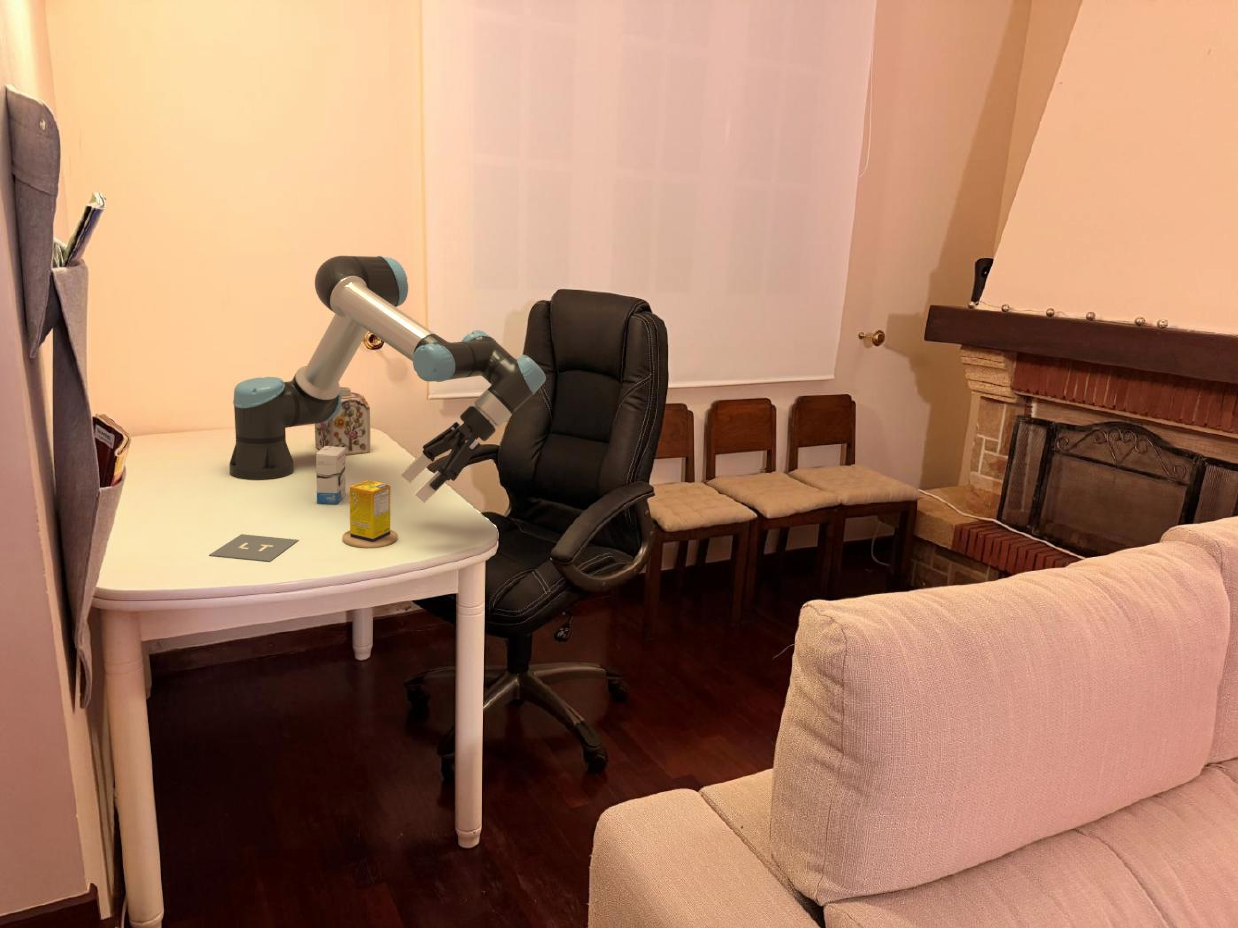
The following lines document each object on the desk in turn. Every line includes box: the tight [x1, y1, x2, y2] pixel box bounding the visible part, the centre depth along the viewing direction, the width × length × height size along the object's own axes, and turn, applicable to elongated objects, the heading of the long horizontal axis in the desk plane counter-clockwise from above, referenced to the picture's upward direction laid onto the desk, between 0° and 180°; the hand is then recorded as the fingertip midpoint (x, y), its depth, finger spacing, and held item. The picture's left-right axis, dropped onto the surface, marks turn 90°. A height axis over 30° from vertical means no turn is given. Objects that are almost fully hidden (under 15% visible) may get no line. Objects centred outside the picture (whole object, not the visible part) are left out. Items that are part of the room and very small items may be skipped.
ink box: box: [315, 446, 347, 505], centre depth 201 cm, size 8×5×12 cm, turn 4°
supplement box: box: [349, 479, 391, 542], centre depth 177 cm, size 6×6×11 cm
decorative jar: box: [314, 386, 371, 456], centre depth 242 cm, size 12×12×18 cm
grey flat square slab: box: [208, 533, 299, 563], centre depth 169 cm, size 12×12×1 cm
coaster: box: [341, 529, 399, 549], centre depth 179 cm, size 11×11×1 cm
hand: (411, 488), depth 179 cm, fingers open, 13 cm apart
